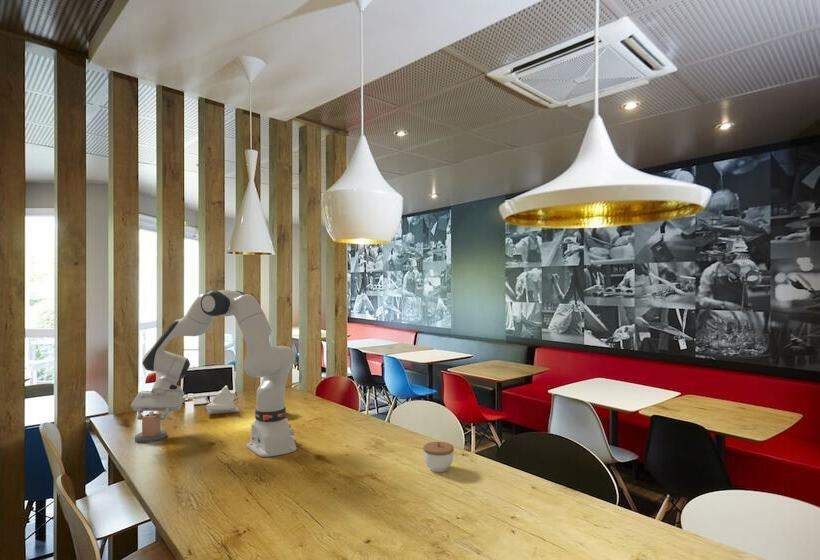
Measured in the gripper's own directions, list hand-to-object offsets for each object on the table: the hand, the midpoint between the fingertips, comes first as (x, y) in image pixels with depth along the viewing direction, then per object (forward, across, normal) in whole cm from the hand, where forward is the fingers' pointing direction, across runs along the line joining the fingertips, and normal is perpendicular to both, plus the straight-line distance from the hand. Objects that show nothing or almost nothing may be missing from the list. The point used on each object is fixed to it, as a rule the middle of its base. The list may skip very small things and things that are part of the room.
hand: (150, 419), depth 191 cm
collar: (+4, 0, +5) cm, 7 cm away
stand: (+5, 0, +6) cm, 8 cm away
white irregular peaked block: (-21, +15, +33) cm, 42 cm away
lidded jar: (+29, +119, -17) cm, 124 cm away
